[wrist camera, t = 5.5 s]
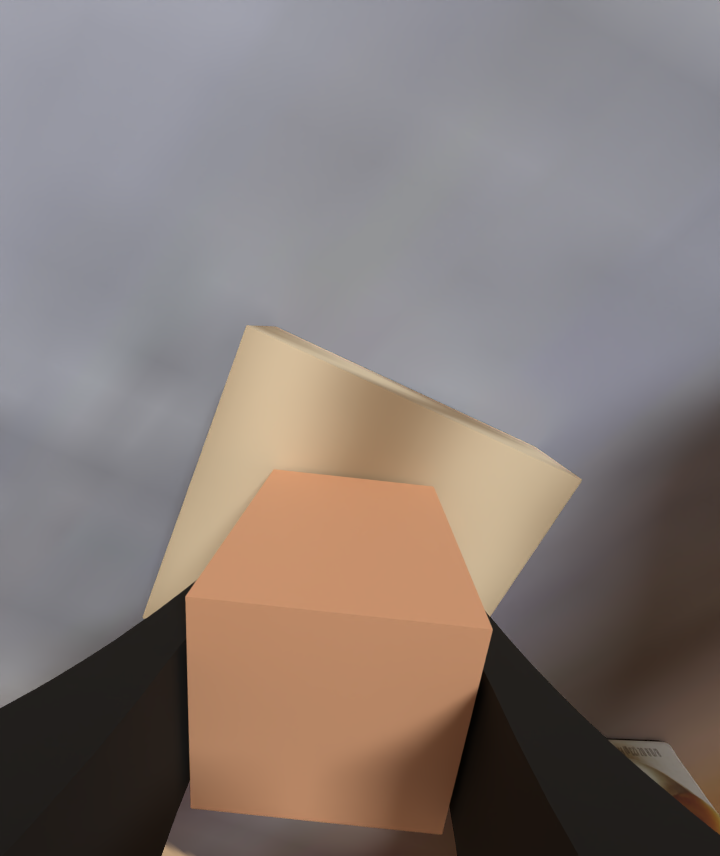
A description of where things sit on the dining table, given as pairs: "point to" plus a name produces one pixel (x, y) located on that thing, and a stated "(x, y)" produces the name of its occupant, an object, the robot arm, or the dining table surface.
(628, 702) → the dining table surface
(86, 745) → the robot arm
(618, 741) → the coffee box
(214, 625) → the block
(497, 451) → the riser
